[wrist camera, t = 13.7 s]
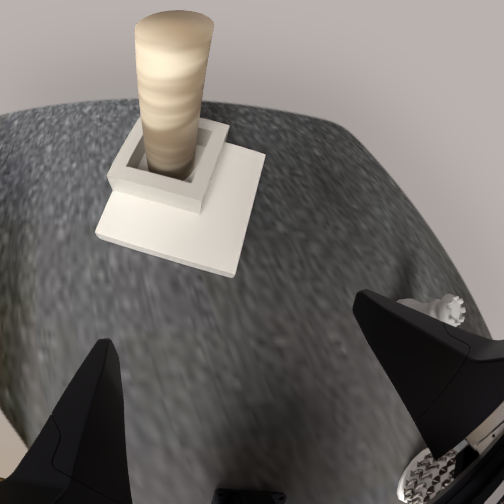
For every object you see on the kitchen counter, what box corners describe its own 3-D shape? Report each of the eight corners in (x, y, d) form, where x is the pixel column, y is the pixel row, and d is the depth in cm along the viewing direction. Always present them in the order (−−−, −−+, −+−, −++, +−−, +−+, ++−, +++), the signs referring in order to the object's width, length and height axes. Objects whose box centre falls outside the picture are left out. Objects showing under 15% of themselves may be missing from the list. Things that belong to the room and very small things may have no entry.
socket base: (232, 278, 24) (241, 266, 20) (99, 238, 22) (85, 220, 18) (261, 162, 28) (272, 138, 24) (149, 132, 26) (147, 105, 22)
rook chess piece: (387, 295, 27) (444, 279, 19) (416, 303, 27) (471, 289, 20) (382, 338, 25) (441, 333, 18) (412, 343, 26) (469, 338, 18)
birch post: (168, 192, 23) (166, 50, 10) (138, 164, 23) (120, 26, 10) (204, 164, 24) (230, 26, 11) (173, 138, 25) (180, 5, 12)
